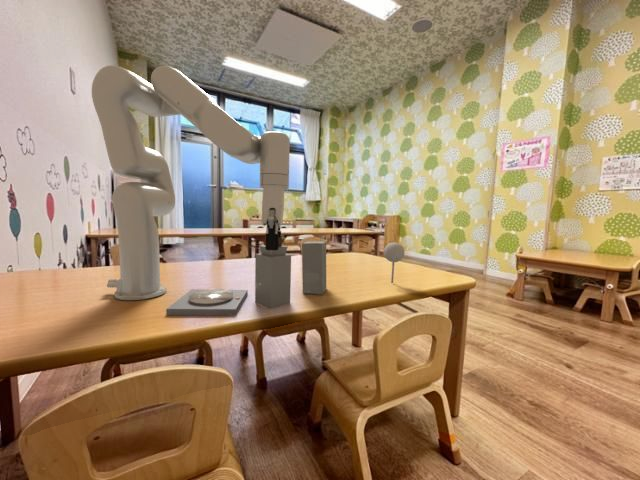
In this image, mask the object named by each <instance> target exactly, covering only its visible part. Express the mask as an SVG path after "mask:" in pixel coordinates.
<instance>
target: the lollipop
mask: <svg viewBox="0 0 640 480" xmlns="http://www.w3.org/2000/svg"><path fill="white" fill-rule="evenodd" d="M383 255H384V258H385V259H386V260H387V261H389V262H391V263H392V264H391V281H390V284H391V283H393V284H394V278H395V277H394V273H395V272H394V271H395V263H398V262H400V261H402V260H403V259H404V256H405V248H404V247H403V246H402V244H401V243H398V242H396V241H395V242H390V243H388V244H387V245H385V247H384V249H383Z"/></svg>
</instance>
